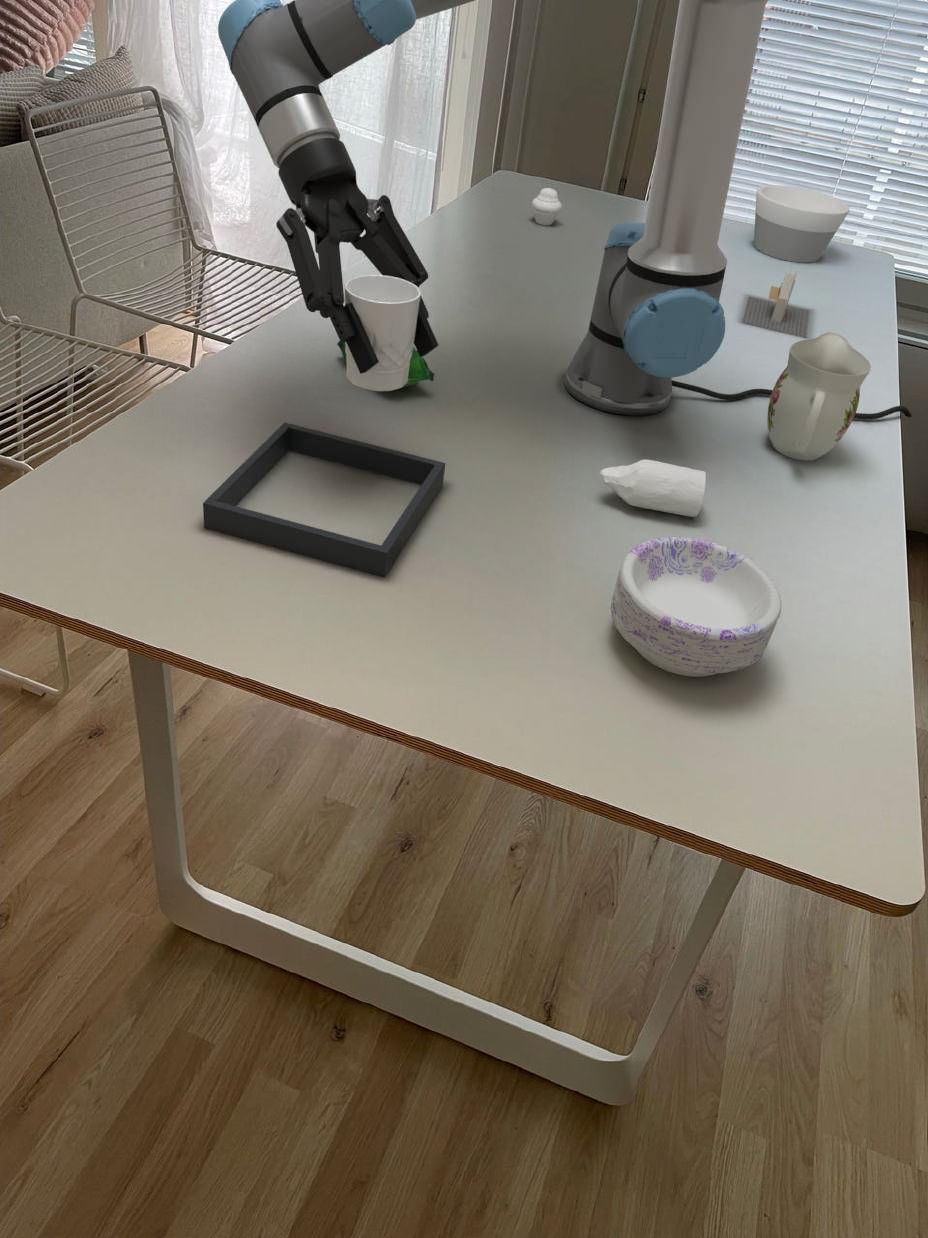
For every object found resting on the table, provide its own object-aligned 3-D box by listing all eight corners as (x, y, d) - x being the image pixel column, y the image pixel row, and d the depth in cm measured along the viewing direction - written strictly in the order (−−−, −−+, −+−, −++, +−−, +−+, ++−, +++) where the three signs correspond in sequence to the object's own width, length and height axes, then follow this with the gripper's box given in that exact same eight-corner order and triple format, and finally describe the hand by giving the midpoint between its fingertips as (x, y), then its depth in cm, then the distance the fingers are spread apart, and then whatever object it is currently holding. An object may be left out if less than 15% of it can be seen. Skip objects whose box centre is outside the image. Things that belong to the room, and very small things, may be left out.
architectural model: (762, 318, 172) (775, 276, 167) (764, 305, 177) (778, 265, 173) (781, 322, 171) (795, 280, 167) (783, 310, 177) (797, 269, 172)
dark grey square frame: (442, 485, 113) (445, 462, 111) (385, 577, 98) (387, 552, 96) (284, 444, 116) (284, 421, 114) (203, 527, 100) (202, 502, 99)
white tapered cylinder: (595, 483, 118) (604, 442, 114) (692, 501, 118) (705, 460, 114) (593, 508, 113) (603, 466, 110) (694, 527, 113) (708, 485, 109)
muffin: (527, 224, 198) (533, 188, 194) (530, 216, 203) (536, 181, 199) (557, 229, 198) (563, 193, 194) (559, 221, 203) (565, 186, 199)
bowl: (843, 271, 200) (862, 218, 193) (752, 260, 199) (769, 205, 192) (817, 242, 215) (834, 191, 208) (733, 231, 214) (748, 179, 207)
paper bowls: (656, 713, 87) (680, 645, 82) (576, 610, 97) (592, 545, 92) (789, 681, 93) (818, 617, 88) (699, 588, 103) (721, 525, 98)
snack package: (390, 405, 127) (394, 368, 124) (331, 357, 137) (333, 321, 133) (435, 397, 131) (439, 361, 128) (374, 350, 140) (377, 315, 137)
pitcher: (747, 468, 126) (781, 370, 117) (762, 414, 140) (794, 322, 131) (832, 492, 124) (873, 393, 115) (839, 435, 137) (876, 343, 129)
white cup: (340, 360, 109) (344, 271, 103) (410, 365, 110) (418, 277, 104) (340, 391, 103) (344, 299, 96) (414, 396, 104) (423, 305, 98)
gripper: (367, 166, 110) (449, 353, 111) (210, 184, 97) (305, 395, 99) (402, 126, 104) (488, 325, 106) (239, 141, 91) (340, 365, 93)
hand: (400, 359), depth 102 cm, fingers closed on white cup, 8 cm apart
